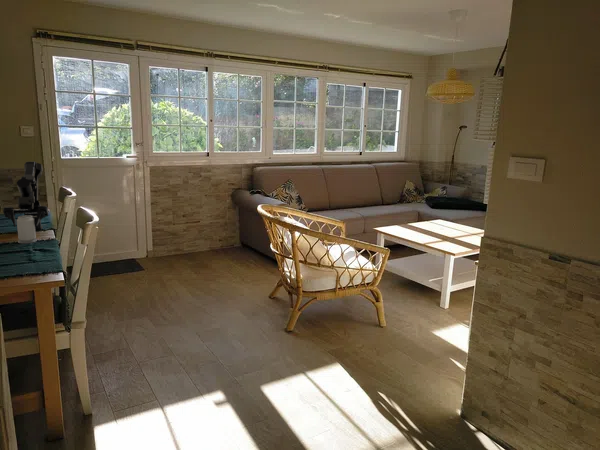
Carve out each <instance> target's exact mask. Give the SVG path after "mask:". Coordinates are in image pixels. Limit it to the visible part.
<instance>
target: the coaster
mask: <svg viewBox="0 0 600 450" xmlns="http://www.w3.org/2000/svg"><path fill="white" fill-rule="evenodd" d="M37 241H38V240H37V238H35V239H34V240H33V241H27V242H23V241H20V240H19V239H18V240H17V243H18V244H22V245H25V244H33V243H36V242H37Z"/></svg>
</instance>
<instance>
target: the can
mask: <svg viewBox="0 0 600 450" xmlns="http://www.w3.org/2000/svg"><path fill="white" fill-rule="evenodd" d="M16 227H17V229H16V230H17V237H18V240H20V241H23V242H27V241H33V240H34V239H37V233H36V230H35V222H34V218H33V216H31V215H23V214H22V215H19V216H17V219H16Z"/></svg>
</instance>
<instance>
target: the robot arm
mask: <svg viewBox="0 0 600 450" xmlns="http://www.w3.org/2000/svg"><path fill="white" fill-rule="evenodd" d="M43 167H44V166H43V164H42V163H40V162H37V161H25V163H24V167H23V168H24V175H23V176H21V177H20V178H19V179H18V180H17V182H16V185H17V189H18V192H19V194H20V196H18V197H17V204H18V209H14V206H4V207H3V208H2V212H3V215H4V217H5V218H7V219H9V220H11V222H12V225H13V227H14V228H15V227H17V220H16V214H17V215H18V214H24V215H31V216H33V218H34V222H35V231H41V230H43V228H44V226H43V225H42V220H43V219H44V218H46V217H48V216H49V208H48V206H47V205H41V202H40V201H39V179H41V177H42V176H43V175H42V173H43V171H44V168H43Z"/></svg>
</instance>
